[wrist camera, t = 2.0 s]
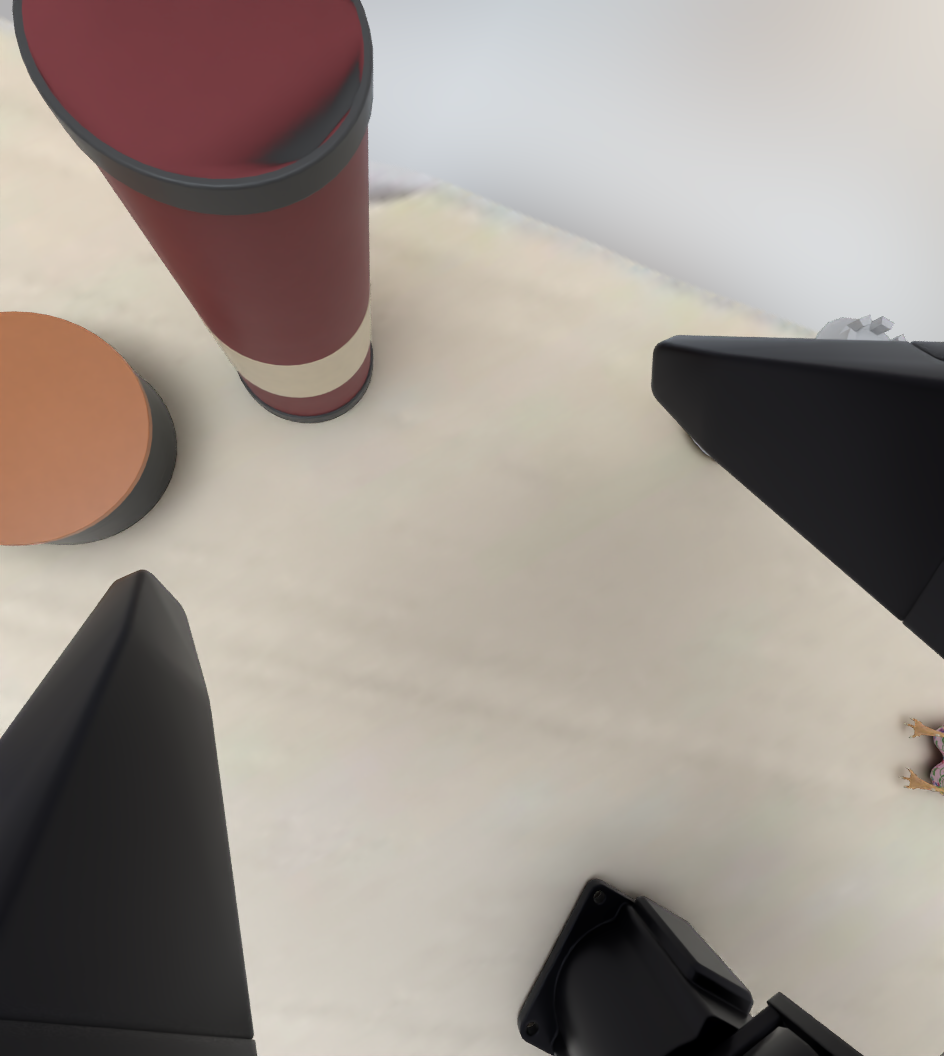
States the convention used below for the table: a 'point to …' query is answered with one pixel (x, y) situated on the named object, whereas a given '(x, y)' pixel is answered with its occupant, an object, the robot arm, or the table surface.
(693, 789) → the table surface
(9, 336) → the orange black short cylinder
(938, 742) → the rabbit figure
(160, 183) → the tube
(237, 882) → the table surface
